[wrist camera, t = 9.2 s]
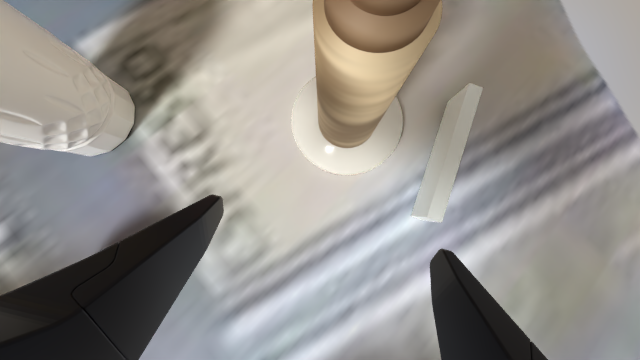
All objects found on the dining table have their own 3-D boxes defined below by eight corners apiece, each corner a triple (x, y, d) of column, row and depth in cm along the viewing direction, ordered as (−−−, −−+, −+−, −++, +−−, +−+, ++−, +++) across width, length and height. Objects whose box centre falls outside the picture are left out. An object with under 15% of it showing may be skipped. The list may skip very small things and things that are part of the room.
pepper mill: (387, 124, 19) (552, -101, 5) (342, 159, 19) (397, 15, 5) (350, 82, 20) (416, -221, 6) (306, 116, 20) (267, -123, 6)
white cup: (36, 100, 21) (-231, -5, 11) (122, 58, 21) (-59, -80, 11) (69, 180, 20) (-190, 149, 10) (158, 135, 20) (-3, 60, 10)
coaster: (415, 158, 19) (417, 157, 19) (307, 188, 19) (307, 187, 19) (382, 58, 21) (383, 55, 20) (280, 85, 20) (279, 83, 20)
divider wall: (422, 220, 19) (441, 222, 16) (410, 216, 19) (427, 217, 16) (459, 105, 20) (483, 87, 17) (447, 101, 20) (469, 82, 17)
